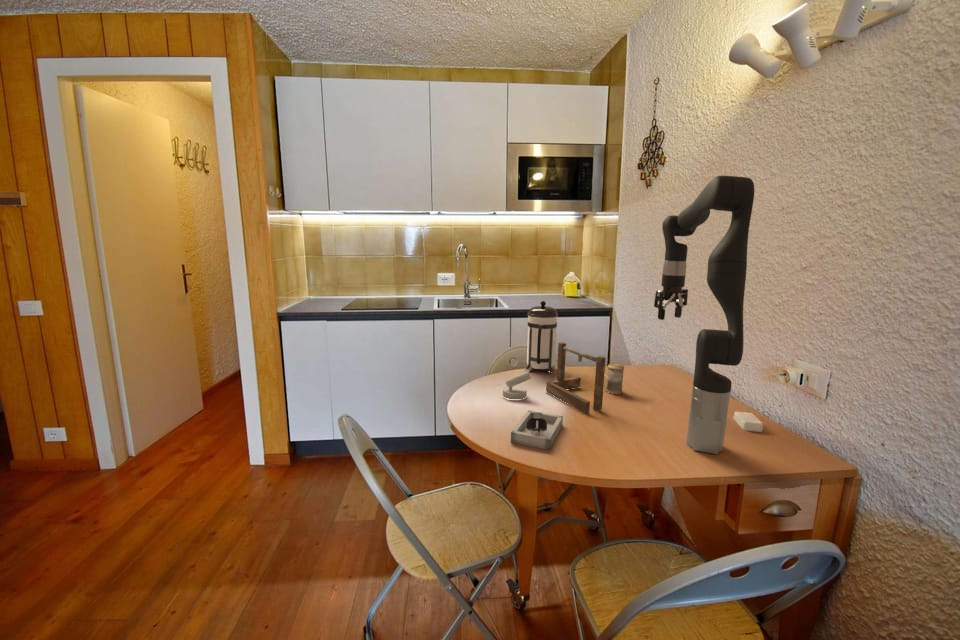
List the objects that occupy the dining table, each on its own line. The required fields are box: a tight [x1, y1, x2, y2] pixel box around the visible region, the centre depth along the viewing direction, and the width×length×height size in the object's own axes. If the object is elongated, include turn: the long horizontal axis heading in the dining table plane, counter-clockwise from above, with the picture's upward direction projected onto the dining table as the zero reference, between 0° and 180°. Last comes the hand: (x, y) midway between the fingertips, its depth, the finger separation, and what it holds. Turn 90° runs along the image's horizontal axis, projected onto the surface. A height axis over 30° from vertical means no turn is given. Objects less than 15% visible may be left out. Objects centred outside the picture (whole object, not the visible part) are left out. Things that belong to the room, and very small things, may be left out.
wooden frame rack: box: [545, 341, 607, 415], centre depth 155 cm, size 15×22×18 cm, turn 27°
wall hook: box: [502, 370, 532, 399], centre depth 157 cm, size 9×10×10 cm
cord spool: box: [605, 363, 625, 395], centre depth 164 cm, size 6×6×10 cm
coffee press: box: [525, 300, 559, 374], centre depth 186 cm, size 17×16×30 cm
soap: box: [733, 411, 764, 433], centre depth 137 cm, size 9×6×3 cm, turn 169°
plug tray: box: [510, 410, 564, 450], centre depth 129 cm, size 17×11×3 cm, turn 157°
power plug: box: [527, 411, 547, 436], centre depth 128 cm, size 6×8×12 cm
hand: (669, 318), depth 158 cm, fingers open, 8 cm apart
